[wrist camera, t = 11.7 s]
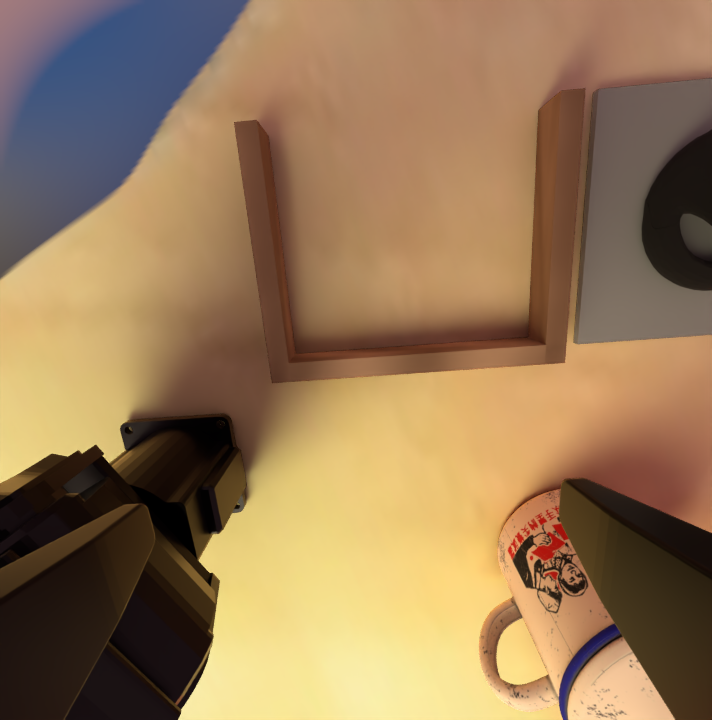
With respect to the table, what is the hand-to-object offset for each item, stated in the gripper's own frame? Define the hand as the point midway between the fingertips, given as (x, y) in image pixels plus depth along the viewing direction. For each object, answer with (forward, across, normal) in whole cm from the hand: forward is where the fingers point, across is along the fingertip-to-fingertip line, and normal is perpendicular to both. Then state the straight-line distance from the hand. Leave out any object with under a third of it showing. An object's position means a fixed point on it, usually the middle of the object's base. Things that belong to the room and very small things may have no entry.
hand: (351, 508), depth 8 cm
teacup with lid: (+13, -11, +14) cm, 22 cm away
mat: (+13, -18, -6) cm, 23 cm away
